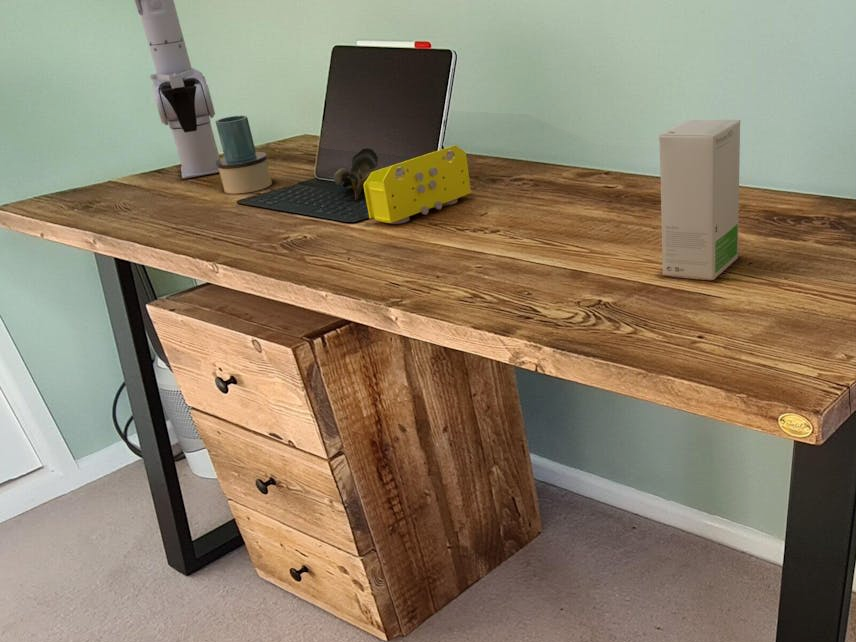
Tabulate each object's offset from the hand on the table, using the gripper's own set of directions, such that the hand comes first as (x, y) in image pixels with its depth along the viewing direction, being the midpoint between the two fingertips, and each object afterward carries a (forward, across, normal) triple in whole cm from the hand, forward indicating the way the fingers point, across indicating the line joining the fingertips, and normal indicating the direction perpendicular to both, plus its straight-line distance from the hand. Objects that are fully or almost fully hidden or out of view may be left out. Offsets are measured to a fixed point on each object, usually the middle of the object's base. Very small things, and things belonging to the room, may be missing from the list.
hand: (190, 128), depth 156 cm
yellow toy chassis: (+12, +40, +30) cm, 51 cm away
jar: (+10, +4, +7) cm, 13 cm away
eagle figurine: (+11, +23, +24) cm, 35 cm away
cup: (+6, +4, +7) cm, 10 cm away
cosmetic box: (+13, +84, +52) cm, 100 cm away
